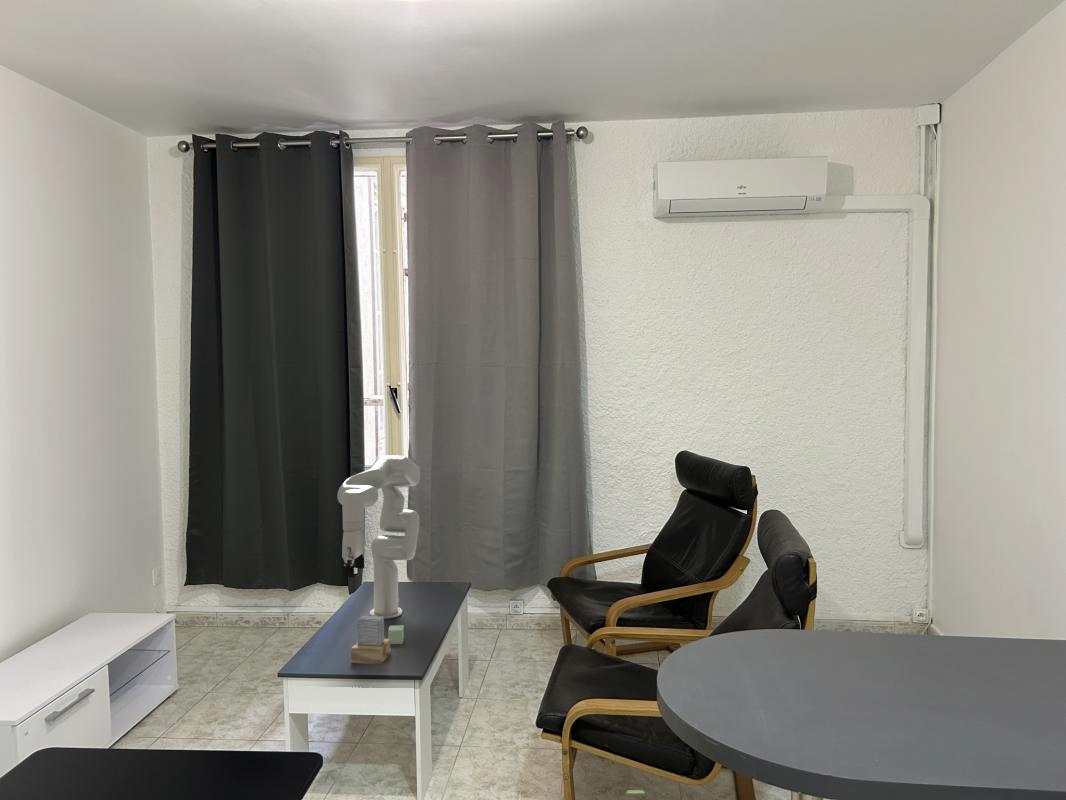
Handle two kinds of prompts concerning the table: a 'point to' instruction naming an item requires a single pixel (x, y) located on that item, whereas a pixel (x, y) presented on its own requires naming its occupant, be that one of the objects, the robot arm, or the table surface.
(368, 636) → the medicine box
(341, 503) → the robot arm
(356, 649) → the oak block
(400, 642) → the green cube
